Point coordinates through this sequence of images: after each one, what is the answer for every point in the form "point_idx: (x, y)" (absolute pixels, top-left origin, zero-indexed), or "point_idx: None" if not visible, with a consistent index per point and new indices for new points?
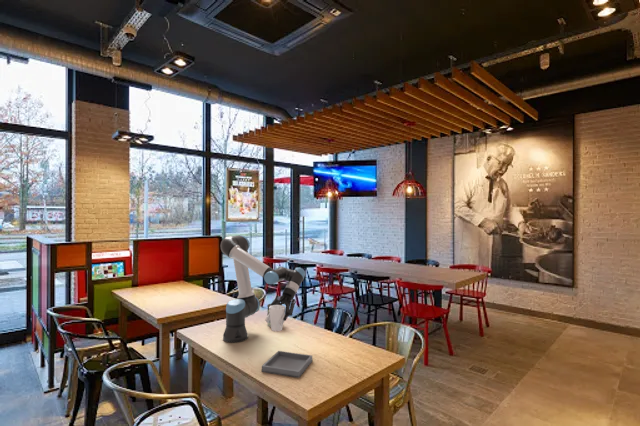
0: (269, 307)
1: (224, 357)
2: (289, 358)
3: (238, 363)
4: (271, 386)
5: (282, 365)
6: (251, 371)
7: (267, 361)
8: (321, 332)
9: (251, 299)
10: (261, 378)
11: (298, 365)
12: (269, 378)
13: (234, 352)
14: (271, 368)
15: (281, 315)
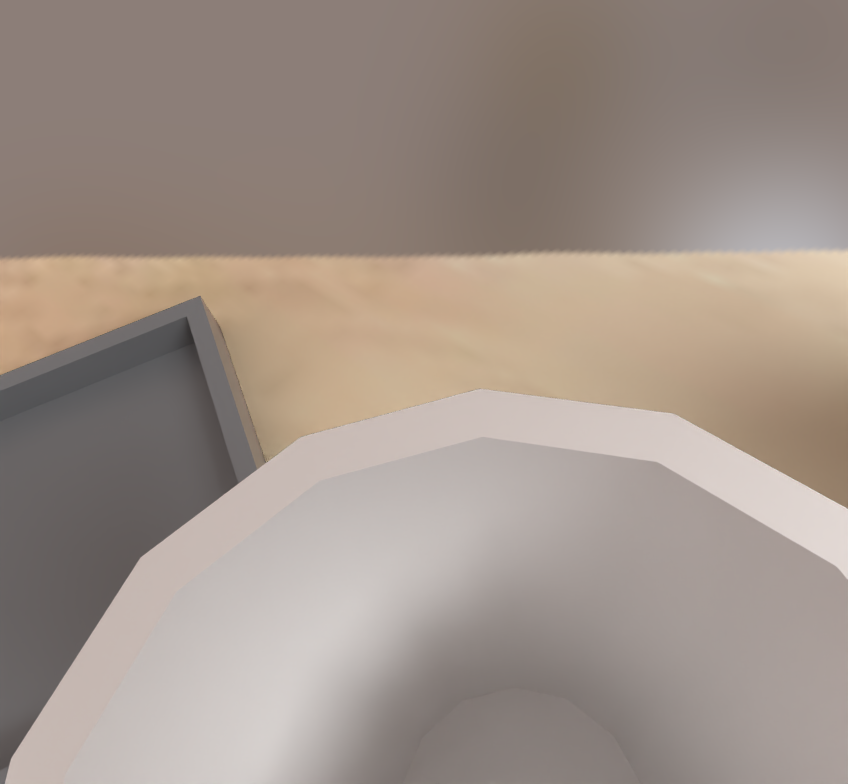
0: (733, 461)
1: (727, 258)
2: None
3: (510, 282)
4: (14, 261)
5: (110, 500)
6: (297, 281)
7: (218, 378)
8: None
9: None
10: (149, 274)
11: None
12: (95, 311)
13: (793, 375)
14: (108, 338)
15: None
